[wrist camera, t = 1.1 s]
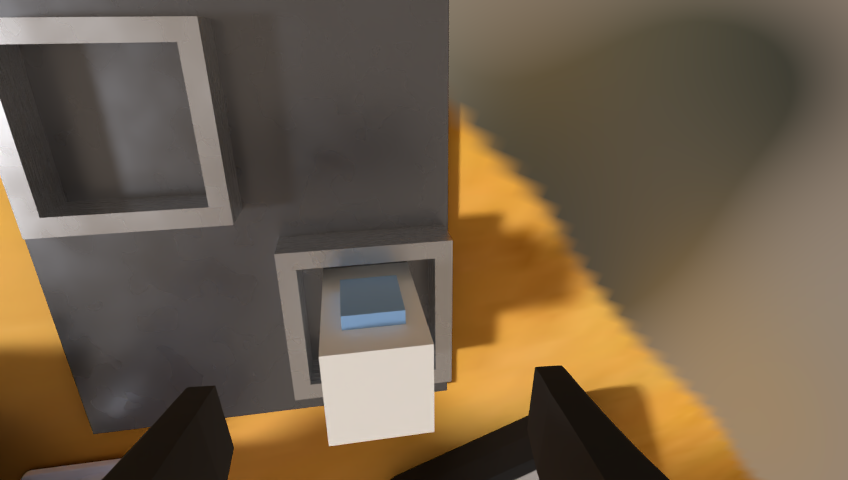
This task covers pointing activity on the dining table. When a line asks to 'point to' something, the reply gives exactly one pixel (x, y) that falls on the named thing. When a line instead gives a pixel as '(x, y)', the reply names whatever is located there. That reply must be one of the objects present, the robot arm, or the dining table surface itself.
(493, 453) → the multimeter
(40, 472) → the robot arm
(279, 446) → the dining table surface
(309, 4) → the panel
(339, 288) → the plug
